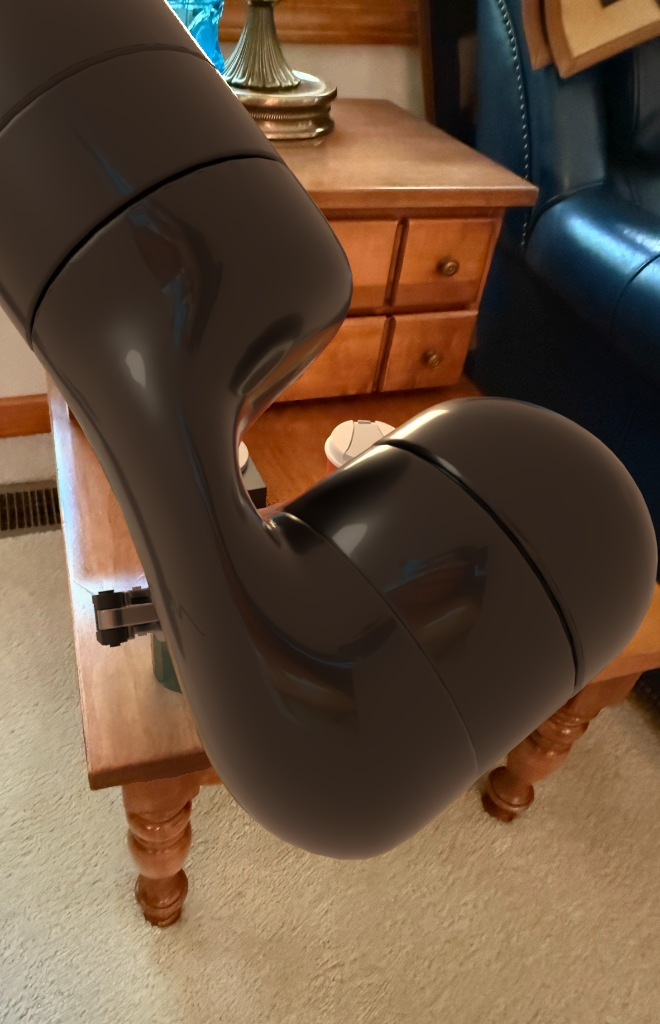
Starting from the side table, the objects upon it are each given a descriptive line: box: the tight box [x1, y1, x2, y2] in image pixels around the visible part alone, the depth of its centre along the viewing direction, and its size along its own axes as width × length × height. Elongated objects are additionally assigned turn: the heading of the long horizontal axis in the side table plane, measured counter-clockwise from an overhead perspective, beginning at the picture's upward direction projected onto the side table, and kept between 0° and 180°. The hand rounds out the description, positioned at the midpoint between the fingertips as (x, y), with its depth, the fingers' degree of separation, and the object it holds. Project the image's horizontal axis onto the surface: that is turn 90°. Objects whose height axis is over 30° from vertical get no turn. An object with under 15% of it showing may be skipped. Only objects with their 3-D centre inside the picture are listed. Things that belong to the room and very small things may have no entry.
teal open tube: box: [149, 633, 182, 693], centre depth 67 cm, size 6×6×8 cm
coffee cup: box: [324, 419, 396, 476], centre depth 78 cm, size 8×8×15 cm
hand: (214, 598), depth 48 cm, fingers open, 8 cm apart
